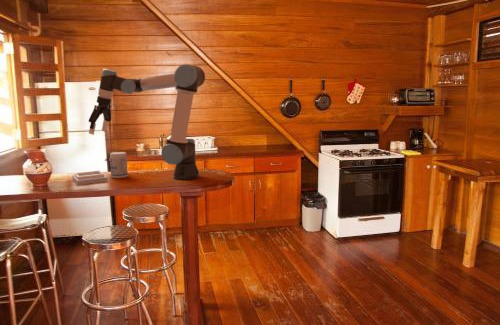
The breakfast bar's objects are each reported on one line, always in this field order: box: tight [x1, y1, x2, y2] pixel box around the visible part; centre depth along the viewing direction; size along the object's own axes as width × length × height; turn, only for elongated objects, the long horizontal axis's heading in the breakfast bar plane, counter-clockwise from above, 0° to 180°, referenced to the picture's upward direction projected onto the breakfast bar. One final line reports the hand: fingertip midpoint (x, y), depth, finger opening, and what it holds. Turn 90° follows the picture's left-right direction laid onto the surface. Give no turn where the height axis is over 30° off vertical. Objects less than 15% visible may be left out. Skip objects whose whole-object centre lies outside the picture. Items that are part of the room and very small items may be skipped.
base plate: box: [71, 170, 108, 186], centre depth 227 cm, size 20×16×4 cm
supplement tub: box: [109, 151, 129, 179], centre depth 235 cm, size 10×10×15 cm
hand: (97, 132), depth 225 cm, fingers open, 13 cm apart
